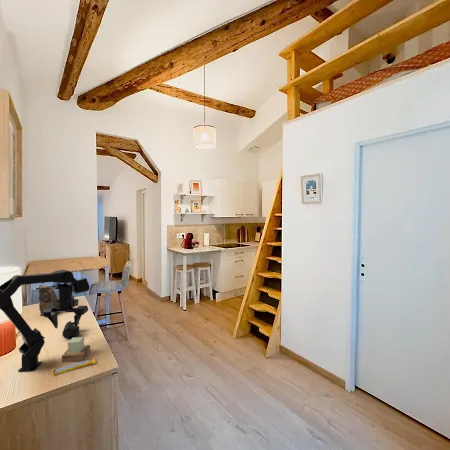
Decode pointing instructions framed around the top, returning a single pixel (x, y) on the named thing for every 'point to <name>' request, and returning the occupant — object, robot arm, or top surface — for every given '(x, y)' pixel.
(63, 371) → the candy bar
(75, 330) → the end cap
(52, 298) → the owl
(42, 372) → the top surface
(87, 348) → the base
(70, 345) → the block
